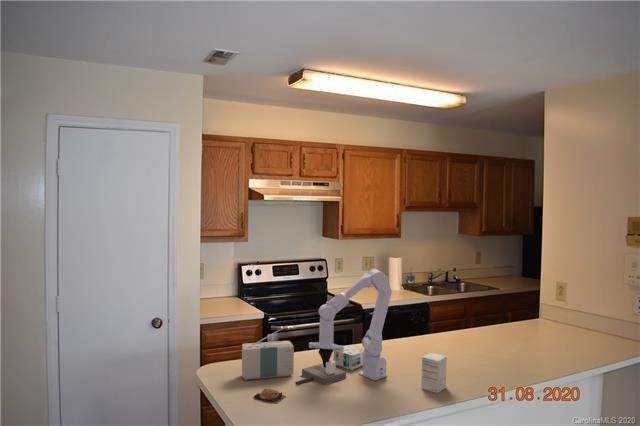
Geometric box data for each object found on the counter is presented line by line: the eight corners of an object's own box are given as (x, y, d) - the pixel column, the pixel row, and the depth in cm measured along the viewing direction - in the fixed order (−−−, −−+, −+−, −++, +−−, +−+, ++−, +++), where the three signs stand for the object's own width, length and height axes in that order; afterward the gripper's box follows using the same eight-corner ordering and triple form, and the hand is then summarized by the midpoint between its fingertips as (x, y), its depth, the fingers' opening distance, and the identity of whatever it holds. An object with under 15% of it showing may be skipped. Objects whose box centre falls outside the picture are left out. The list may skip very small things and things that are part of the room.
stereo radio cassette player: (242, 382, 195) (243, 332, 194) (240, 374, 203) (241, 327, 202) (293, 377, 200) (294, 329, 200) (289, 370, 208) (290, 324, 208)
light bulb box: (332, 364, 216) (351, 370, 209) (333, 349, 216) (352, 355, 209) (347, 358, 224) (366, 364, 217) (347, 344, 224) (367, 349, 217)
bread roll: (287, 397, 182) (287, 387, 182) (276, 406, 174) (276, 396, 174) (263, 392, 186) (263, 382, 186) (251, 400, 179) (251, 390, 179)
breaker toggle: (335, 372, 199) (335, 361, 199) (329, 374, 197) (329, 363, 196) (332, 371, 200) (332, 360, 200) (325, 373, 198) (325, 362, 198)
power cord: (312, 380, 197) (312, 377, 197) (297, 385, 192) (297, 382, 192) (311, 379, 198) (311, 376, 198) (295, 384, 193) (295, 381, 193)
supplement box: (429, 383, 196) (430, 352, 196) (446, 387, 192) (447, 356, 191) (420, 388, 191) (421, 356, 190) (438, 393, 186) (438, 360, 186)
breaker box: (345, 378, 200) (345, 372, 200) (323, 385, 193) (323, 378, 193) (323, 368, 211) (323, 362, 211) (301, 374, 203) (301, 368, 203)
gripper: (346, 333, 202) (345, 365, 202) (313, 329, 206) (312, 361, 207) (341, 338, 195) (340, 371, 195) (307, 334, 200) (306, 366, 200)
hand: (325, 366), depth 201 cm, fingers closed
